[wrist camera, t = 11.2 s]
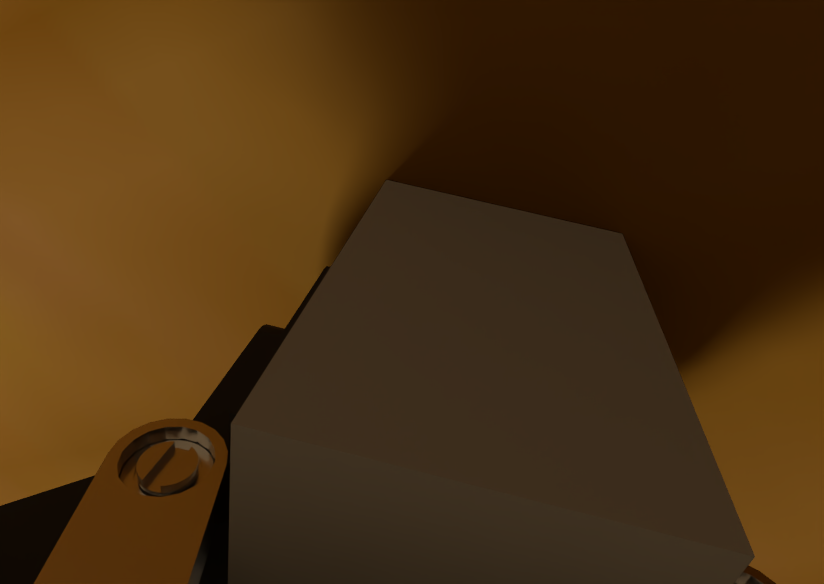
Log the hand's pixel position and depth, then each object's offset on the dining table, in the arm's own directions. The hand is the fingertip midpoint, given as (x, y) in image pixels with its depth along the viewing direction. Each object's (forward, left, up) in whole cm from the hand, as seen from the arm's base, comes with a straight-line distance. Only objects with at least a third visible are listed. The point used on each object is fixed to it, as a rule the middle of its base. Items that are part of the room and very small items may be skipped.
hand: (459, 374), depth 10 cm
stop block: (0, 0, -1) cm, 1 cm away
